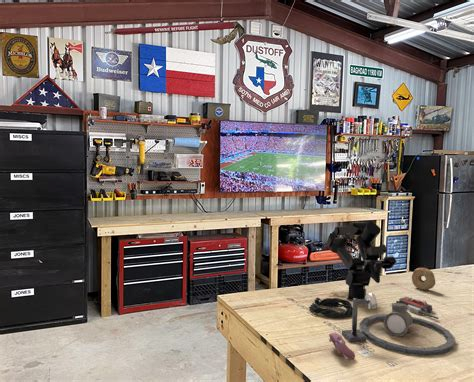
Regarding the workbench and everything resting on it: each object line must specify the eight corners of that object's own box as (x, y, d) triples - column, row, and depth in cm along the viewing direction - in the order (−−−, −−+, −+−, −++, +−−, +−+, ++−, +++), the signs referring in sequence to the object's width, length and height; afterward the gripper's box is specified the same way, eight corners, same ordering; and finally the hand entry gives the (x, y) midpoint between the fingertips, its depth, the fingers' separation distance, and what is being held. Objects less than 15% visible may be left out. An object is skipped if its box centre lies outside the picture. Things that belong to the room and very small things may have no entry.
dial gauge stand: (349, 342, 137) (351, 297, 136) (341, 334, 143) (343, 291, 142) (375, 340, 139) (377, 296, 138) (366, 333, 145) (368, 290, 144)
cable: (358, 312, 165) (359, 302, 165) (344, 323, 154) (345, 312, 153) (319, 302, 175) (319, 292, 175) (303, 312, 164) (303, 301, 164)
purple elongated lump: (333, 350, 135) (324, 331, 134) (345, 343, 135) (336, 325, 134) (343, 365, 125) (334, 345, 124) (357, 358, 125) (347, 338, 125)
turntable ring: (349, 339, 139) (349, 335, 139) (371, 312, 165) (372, 308, 165) (449, 364, 124) (449, 359, 123) (457, 330, 149) (457, 325, 149)
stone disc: (409, 287, 198) (410, 266, 197) (412, 285, 201) (414, 265, 200) (432, 292, 191) (434, 271, 190) (435, 290, 194) (436, 269, 193)
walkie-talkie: (392, 305, 174) (436, 322, 156) (392, 295, 173) (436, 311, 156) (405, 302, 178) (450, 318, 161) (406, 292, 178) (450, 307, 161)
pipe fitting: (407, 339, 140) (407, 308, 140) (383, 334, 145) (383, 304, 145) (417, 331, 149) (417, 302, 150) (394, 327, 154) (394, 299, 155)
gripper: (351, 238, 164) (363, 273, 154) (395, 236, 167) (409, 271, 158) (342, 252, 173) (353, 287, 163) (384, 251, 176) (397, 285, 166)
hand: (378, 282), depth 162 cm, fingers closed
